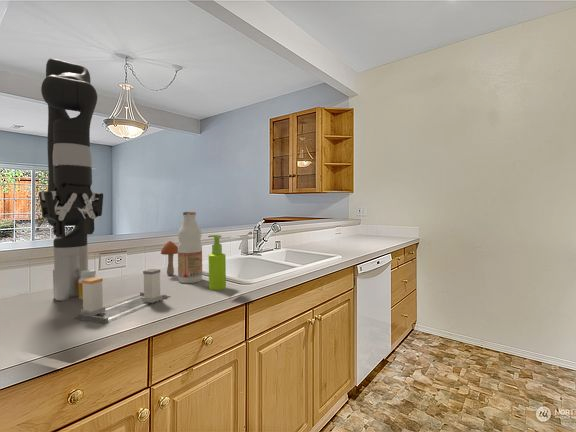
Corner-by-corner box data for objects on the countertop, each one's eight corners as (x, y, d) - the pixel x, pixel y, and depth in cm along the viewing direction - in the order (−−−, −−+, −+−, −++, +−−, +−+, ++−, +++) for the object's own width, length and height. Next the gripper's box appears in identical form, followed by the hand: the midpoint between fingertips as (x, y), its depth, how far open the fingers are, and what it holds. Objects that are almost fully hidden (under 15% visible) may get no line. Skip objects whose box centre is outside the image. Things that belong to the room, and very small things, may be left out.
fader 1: (80, 314, 82) (79, 280, 81) (94, 309, 85) (93, 276, 85) (91, 316, 80) (90, 281, 80) (105, 311, 84) (104, 278, 84)
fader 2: (142, 301, 92) (141, 271, 92) (152, 297, 96) (151, 268, 96) (152, 302, 91) (152, 272, 91) (162, 298, 95) (161, 269, 94)
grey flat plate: (73, 323, 80) (73, 314, 80) (144, 296, 102) (144, 290, 102) (104, 328, 76) (104, 319, 76) (171, 300, 99) (171, 293, 99)
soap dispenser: (217, 287, 114) (216, 233, 113) (229, 290, 109) (228, 235, 109) (203, 290, 109) (203, 235, 108) (215, 294, 105) (215, 236, 104)
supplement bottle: (84, 304, 95) (83, 273, 94) (75, 301, 97) (74, 271, 97) (102, 299, 100) (101, 270, 99) (93, 297, 102) (92, 268, 102)
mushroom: (173, 272, 140) (172, 239, 139) (184, 274, 135) (183, 240, 135) (157, 275, 133) (156, 241, 133) (167, 277, 129) (167, 242, 128)
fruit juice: (173, 283, 120) (172, 212, 119) (185, 277, 129) (184, 211, 128) (195, 284, 118) (194, 212, 117) (206, 278, 127) (205, 211, 126)
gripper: (90, 169, 80) (91, 232, 81) (27, 162, 67) (30, 238, 67) (111, 168, 78) (113, 233, 78) (51, 160, 64) (54, 239, 65)
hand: (75, 235), depth 73 cm, fingers open, 6 cm apart
